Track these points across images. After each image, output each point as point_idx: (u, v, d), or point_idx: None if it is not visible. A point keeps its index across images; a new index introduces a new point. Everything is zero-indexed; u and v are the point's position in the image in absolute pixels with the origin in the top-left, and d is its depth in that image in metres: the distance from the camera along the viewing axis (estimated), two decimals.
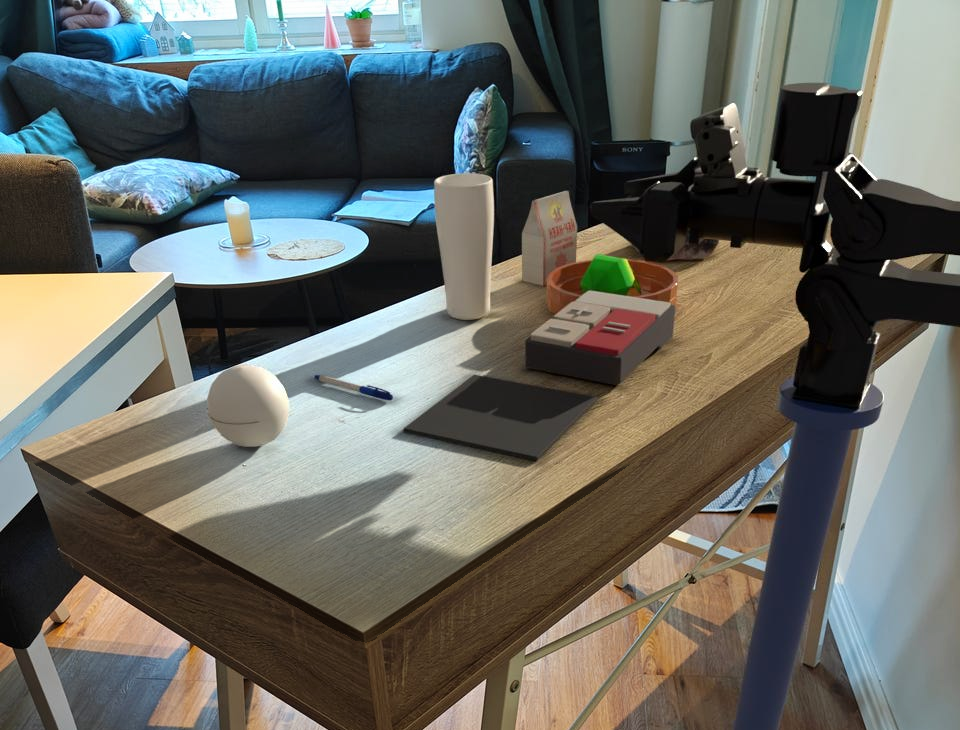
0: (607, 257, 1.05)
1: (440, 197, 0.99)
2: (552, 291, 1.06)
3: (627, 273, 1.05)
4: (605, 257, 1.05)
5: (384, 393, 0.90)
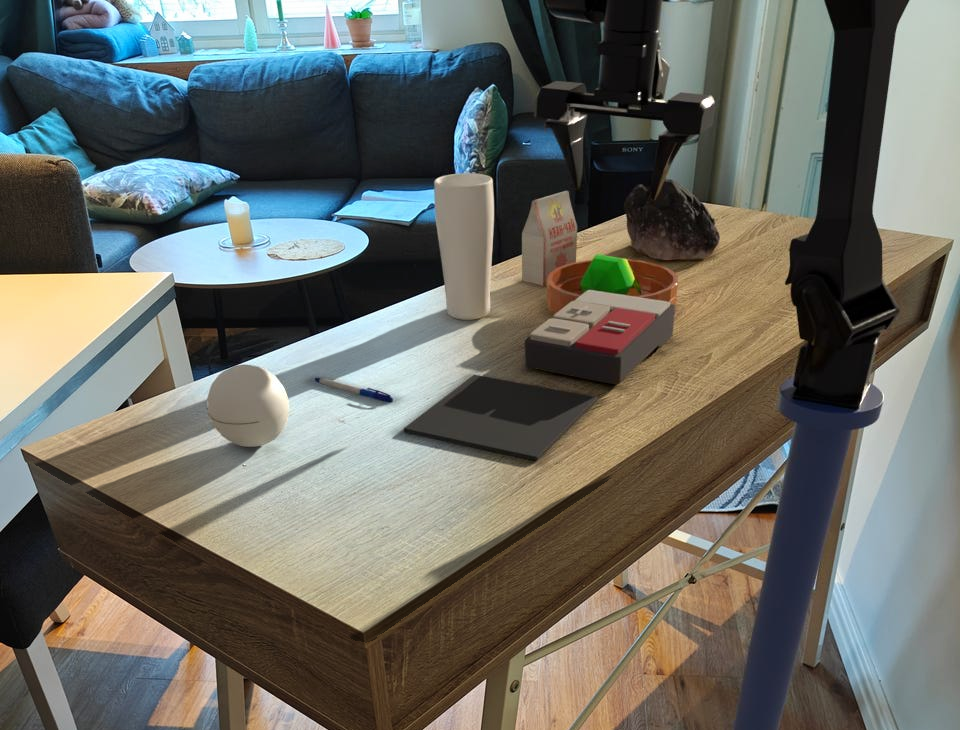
0: (607, 257, 1.05)
1: (440, 197, 0.99)
2: (552, 291, 1.06)
3: (627, 273, 1.05)
4: (605, 257, 1.05)
5: (384, 396, 0.90)
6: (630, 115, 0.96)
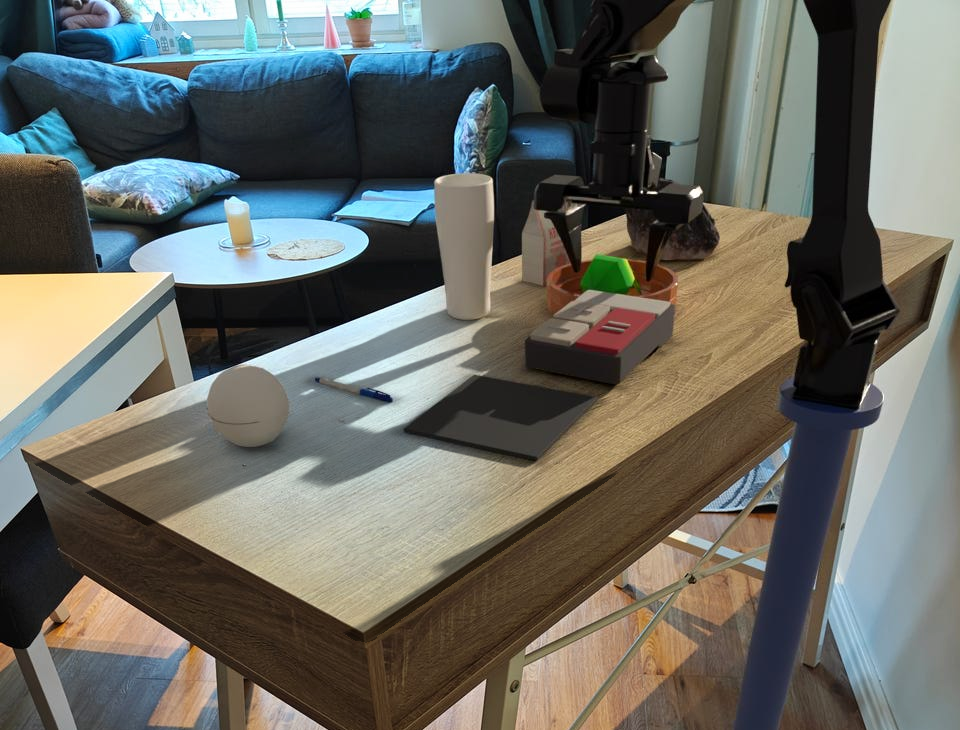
0: (607, 257, 1.05)
1: (440, 197, 0.99)
2: (552, 291, 1.06)
3: (627, 273, 1.05)
4: (605, 257, 1.05)
5: (384, 396, 0.90)
6: (623, 205, 1.02)
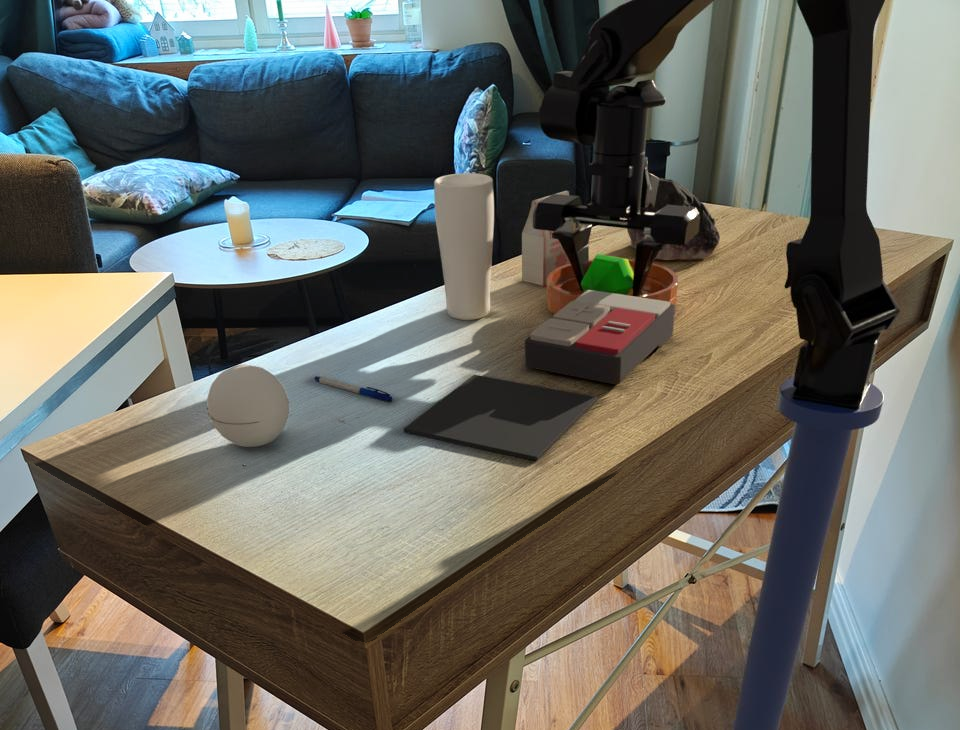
0: (608, 257, 1.05)
1: (440, 197, 0.99)
2: (552, 291, 1.06)
3: (628, 273, 1.05)
4: (606, 257, 1.05)
5: (384, 395, 0.90)
6: (621, 226, 1.03)
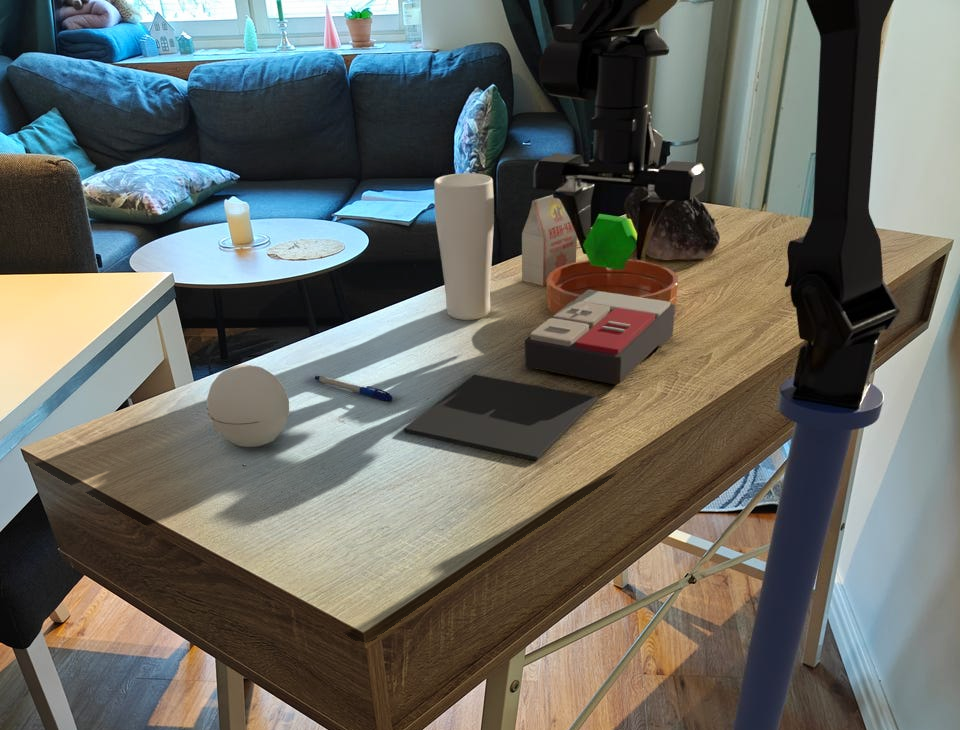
0: (611, 217, 1.02)
1: (440, 197, 0.99)
2: (552, 291, 1.06)
3: (631, 233, 1.02)
4: (609, 217, 1.02)
5: (384, 394, 0.90)
6: (624, 183, 1.00)
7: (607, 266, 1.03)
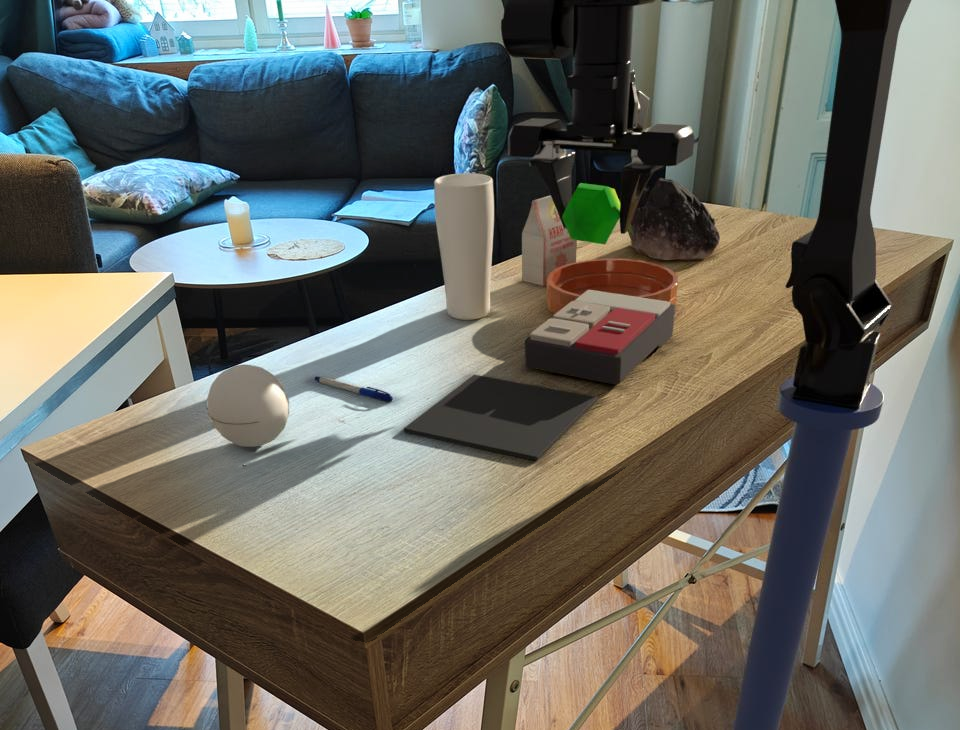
0: (592, 186, 0.94)
1: (440, 197, 0.99)
2: (552, 291, 1.06)
3: (614, 204, 0.94)
4: (590, 186, 0.94)
5: (384, 395, 0.90)
6: (606, 149, 0.92)
7: (588, 240, 0.95)
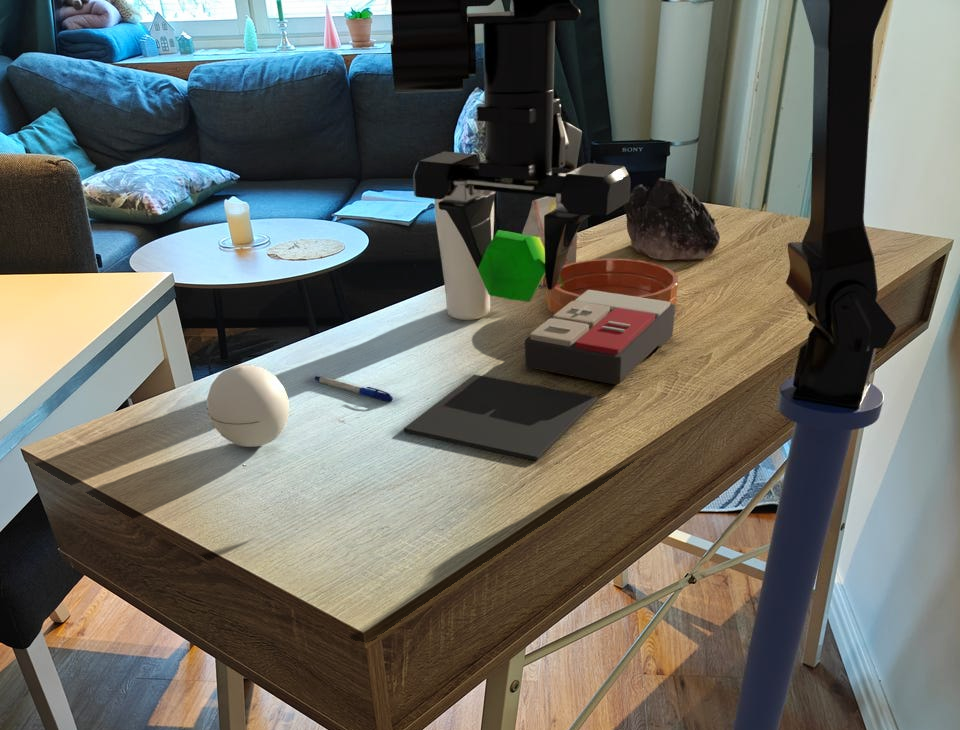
0: (512, 234, 0.79)
1: None
2: (552, 291, 1.06)
3: (538, 256, 0.79)
4: (509, 234, 0.79)
5: (384, 395, 0.90)
6: (527, 192, 0.77)
7: (508, 297, 0.80)
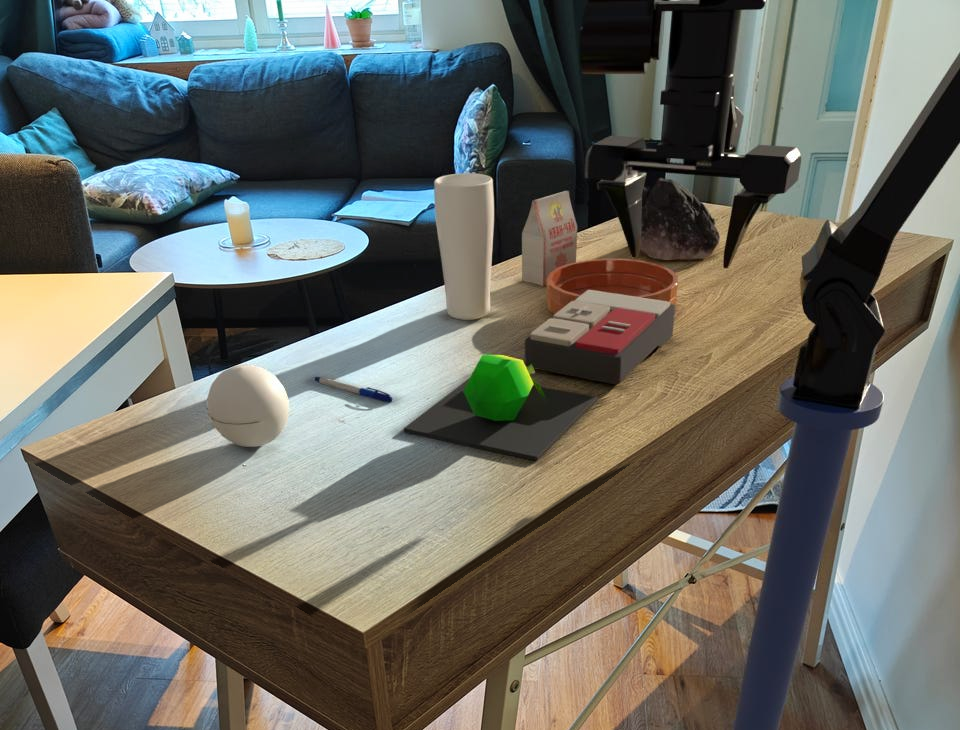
0: (496, 359, 0.82)
1: (440, 197, 0.99)
2: (552, 291, 1.06)
3: (522, 380, 0.82)
4: (493, 359, 0.82)
5: (384, 395, 0.90)
6: (699, 173, 0.81)
7: (493, 419, 0.83)
